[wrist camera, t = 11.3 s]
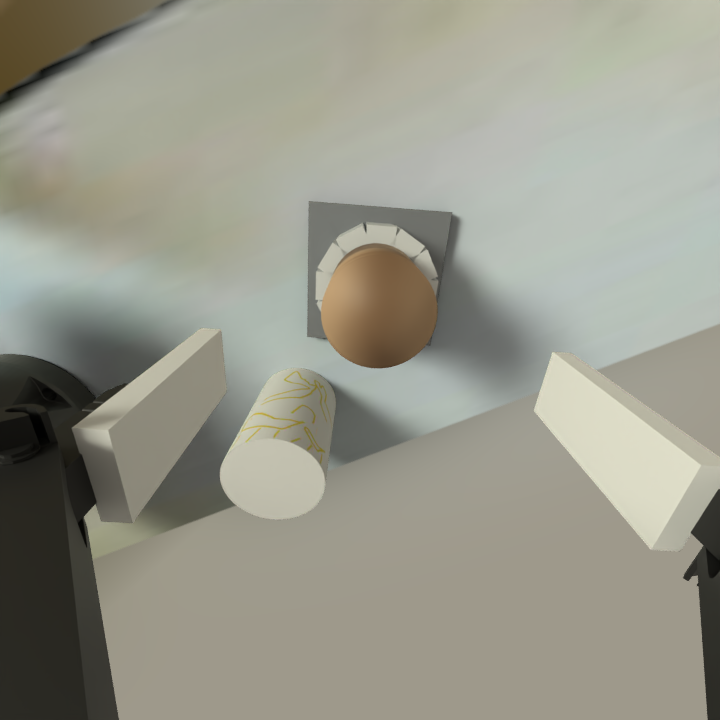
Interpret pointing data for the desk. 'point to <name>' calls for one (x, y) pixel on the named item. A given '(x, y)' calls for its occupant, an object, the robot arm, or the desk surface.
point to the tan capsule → (378, 307)
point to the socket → (365, 226)
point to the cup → (282, 447)
